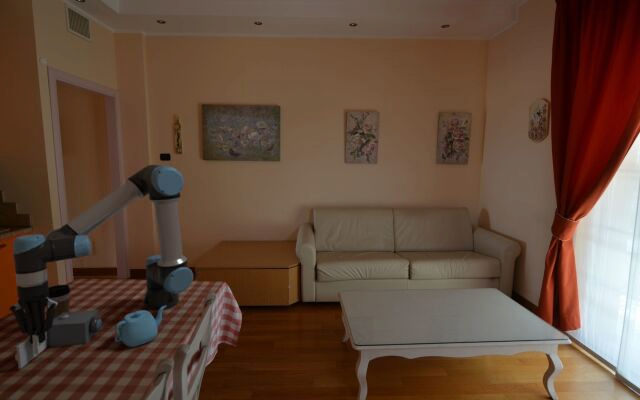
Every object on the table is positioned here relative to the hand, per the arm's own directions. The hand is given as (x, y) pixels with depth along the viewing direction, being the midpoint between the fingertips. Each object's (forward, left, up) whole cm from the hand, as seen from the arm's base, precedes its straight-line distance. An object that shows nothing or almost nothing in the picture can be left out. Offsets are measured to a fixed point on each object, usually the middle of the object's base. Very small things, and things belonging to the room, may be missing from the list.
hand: (39, 351), depth 106 cm
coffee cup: (+8, -26, -3) cm, 27 cm away
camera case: (-5, -13, -3) cm, 14 cm away
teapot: (-28, -10, -3) cm, 30 cm away
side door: (+3, -2, -3) cm, 4 cm away
